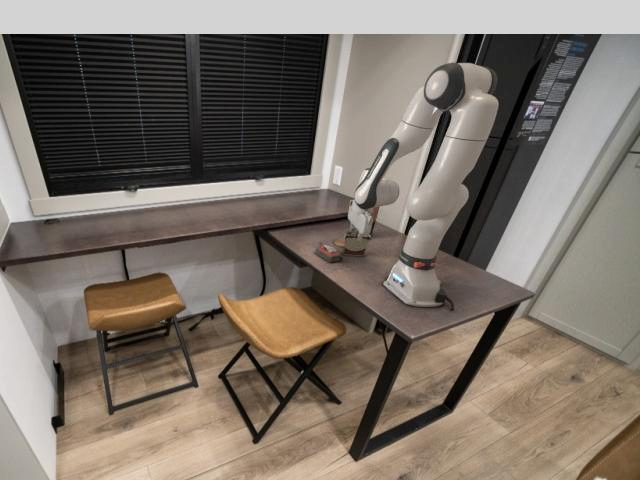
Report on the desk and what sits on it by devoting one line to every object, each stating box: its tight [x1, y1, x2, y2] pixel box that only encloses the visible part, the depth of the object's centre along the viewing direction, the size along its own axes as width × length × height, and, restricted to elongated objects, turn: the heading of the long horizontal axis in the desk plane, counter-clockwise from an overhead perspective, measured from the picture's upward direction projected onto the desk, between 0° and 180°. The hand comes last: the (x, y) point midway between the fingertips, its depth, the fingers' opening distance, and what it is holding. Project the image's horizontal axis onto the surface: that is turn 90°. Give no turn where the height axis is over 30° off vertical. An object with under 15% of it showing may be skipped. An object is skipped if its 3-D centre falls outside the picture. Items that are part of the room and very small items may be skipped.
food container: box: [342, 230, 372, 257], centre depth 145 cm, size 12×6×10 cm, turn 84°
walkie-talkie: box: [315, 241, 344, 263], centre depth 145 cm, size 9×4×20 cm
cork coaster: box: [333, 238, 345, 248], centre depth 157 cm, size 9×9×1 cm
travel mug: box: [369, 207, 380, 236], centre depth 161 cm, size 8×8×20 cm
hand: (355, 235), depth 144 cm, fingers open, 8 cm apart
